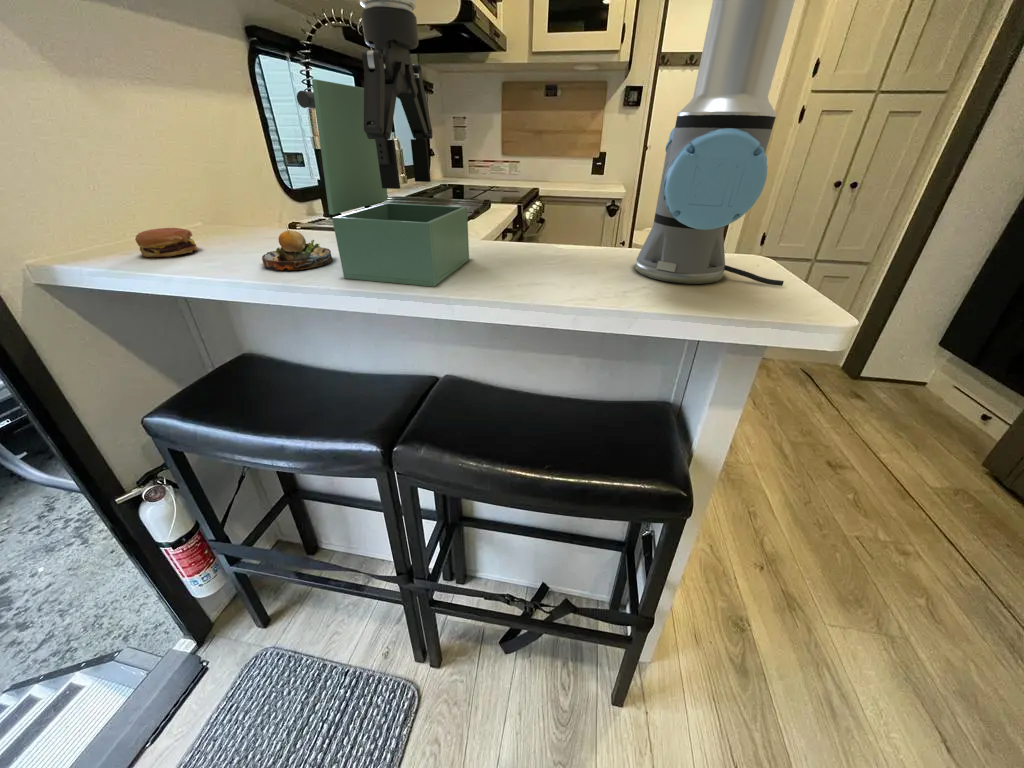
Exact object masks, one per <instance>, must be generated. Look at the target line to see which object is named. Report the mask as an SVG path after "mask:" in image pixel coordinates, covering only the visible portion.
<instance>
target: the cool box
mask: <svg viewBox="0 0 1024 768" xmlns="http://www.w3.org/2000/svg"><path fill="white" fill-rule="evenodd" d="M331 220H332V225H333V230H334V234H335V240H336V245H337V250H338V254H339V259H340V264H341V265H340V266H341V270H342V274H343V278H344V279H348V280H349V279H350V280H360V281H371V282H381V283H389V284H390V283H391V284H402V285H414V286H424V287H436V286H437V285H439V284H440V283H441V282H442V281H444V280H445V279H446V278H447V277H449V276H450V275H452V274H453V273H454V272H456V271H457V270H458V269H460V268H461V267H462V266H463V265H465V264H466V263H467V262H468V261H470V247H469V246H470V245H469V221H468V220H469V217H468V207H467V206H457V205H439V204H420V203H419V204H417V203H416V204H415V203H397V202H384V203H380V204H377V205H373V206H370V207H369V206H368V207H366V208H362V209H359V210H355V211H351V212H348V213H344V214H340V215H335V216H332V217H331Z"/></svg>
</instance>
